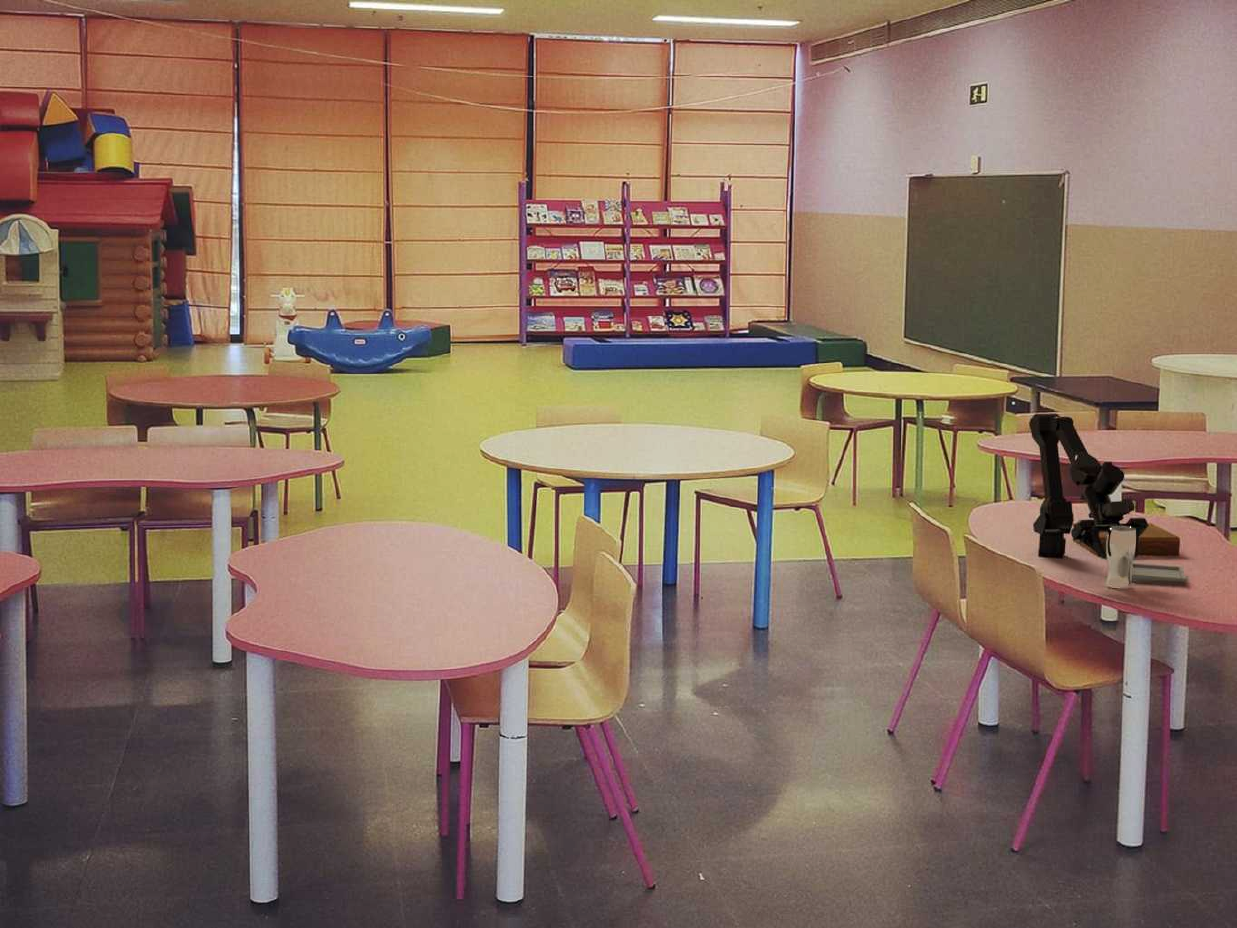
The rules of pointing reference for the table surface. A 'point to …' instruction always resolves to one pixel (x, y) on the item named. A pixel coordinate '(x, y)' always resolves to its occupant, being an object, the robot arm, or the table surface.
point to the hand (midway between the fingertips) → (1120, 557)
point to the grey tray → (1157, 574)
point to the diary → (1147, 542)
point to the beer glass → (1120, 555)
